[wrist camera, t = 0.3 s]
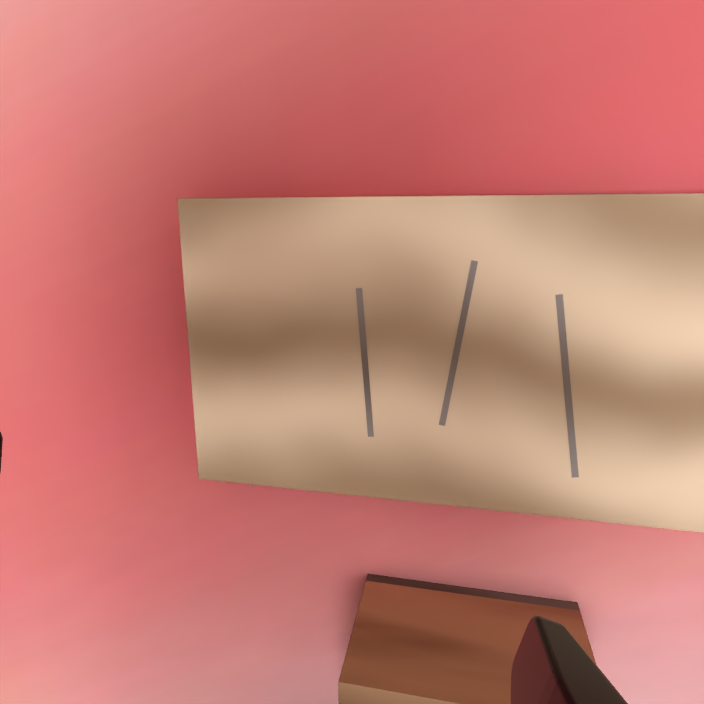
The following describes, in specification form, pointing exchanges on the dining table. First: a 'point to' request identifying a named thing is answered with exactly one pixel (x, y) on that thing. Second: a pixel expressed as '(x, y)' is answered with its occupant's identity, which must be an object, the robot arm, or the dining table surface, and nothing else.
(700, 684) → the dining table surface
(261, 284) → the board
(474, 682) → the block
